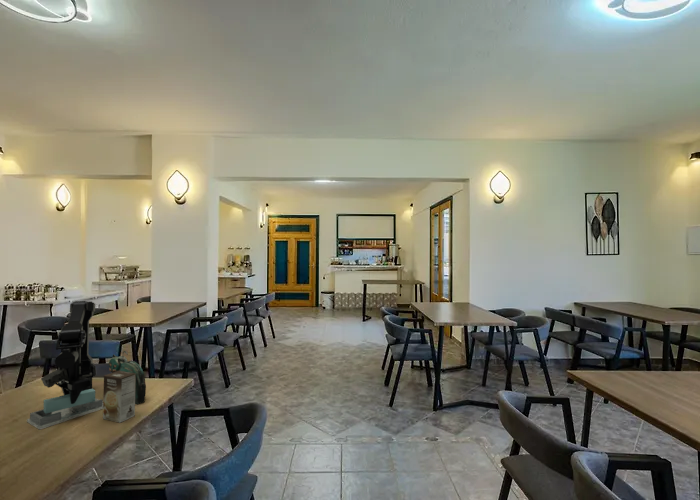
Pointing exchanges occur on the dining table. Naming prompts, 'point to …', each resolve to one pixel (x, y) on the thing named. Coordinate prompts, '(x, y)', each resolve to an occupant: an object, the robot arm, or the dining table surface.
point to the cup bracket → (63, 414)
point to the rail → (68, 401)
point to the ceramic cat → (132, 367)
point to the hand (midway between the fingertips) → (70, 402)
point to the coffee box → (119, 396)
